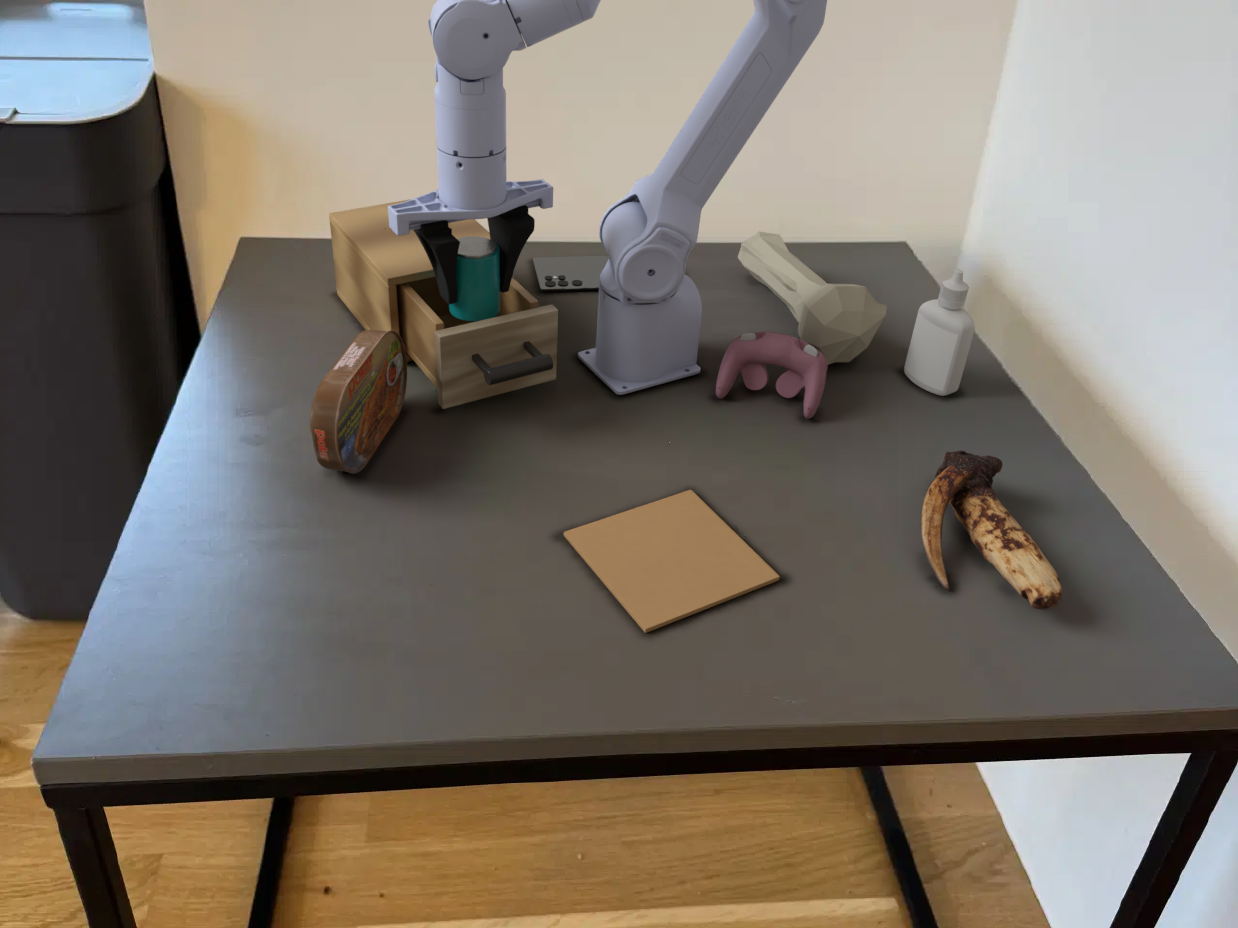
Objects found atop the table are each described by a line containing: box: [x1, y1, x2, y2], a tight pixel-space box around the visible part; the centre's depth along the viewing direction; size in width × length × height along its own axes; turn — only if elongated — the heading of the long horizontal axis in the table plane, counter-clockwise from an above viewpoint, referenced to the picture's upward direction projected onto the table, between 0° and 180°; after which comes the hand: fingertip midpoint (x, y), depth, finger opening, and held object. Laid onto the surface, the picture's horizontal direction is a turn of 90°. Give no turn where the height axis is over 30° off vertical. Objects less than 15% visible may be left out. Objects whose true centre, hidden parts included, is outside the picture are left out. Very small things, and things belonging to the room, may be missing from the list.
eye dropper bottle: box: [903, 268, 976, 397], centre depth 104 cm, size 4×6×12 cm
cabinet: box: [328, 198, 514, 363], centre depth 110 cm, size 16×13×9 cm
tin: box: [309, 329, 408, 474], centre depth 92 cm, size 15×3×8 cm, turn 168°
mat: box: [563, 489, 781, 634], centre depth 85 cm, size 12×12×1 cm
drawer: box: [396, 277, 559, 410], centre depth 101 cm, size 19×11×7 cm, turn 31°
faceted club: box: [737, 231, 888, 366], centre depth 115 cm, size 9×8×25 cm
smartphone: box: [532, 255, 609, 292], centre depth 122 cm, size 8×1×16 cm
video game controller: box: [715, 331, 829, 420], centre depth 103 cm, size 10×5×7 cm, turn 71°
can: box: [449, 236, 500, 321], centre depth 98 cm, size 5×5×6 cm
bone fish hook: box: [920, 449, 1063, 610], centre depth 86 cm, size 9×5×18 cm
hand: (475, 293), depth 99 cm, fingers closed on can, 4 cm apart
